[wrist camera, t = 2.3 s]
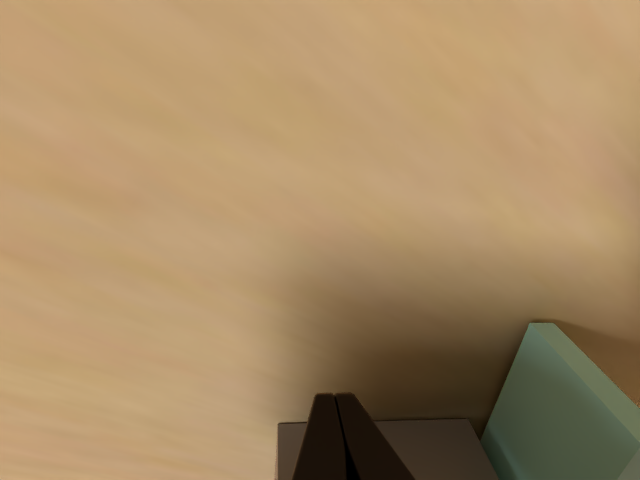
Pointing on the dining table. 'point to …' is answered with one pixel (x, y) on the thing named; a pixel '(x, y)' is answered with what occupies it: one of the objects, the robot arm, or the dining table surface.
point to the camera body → (410, 449)
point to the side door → (561, 416)
